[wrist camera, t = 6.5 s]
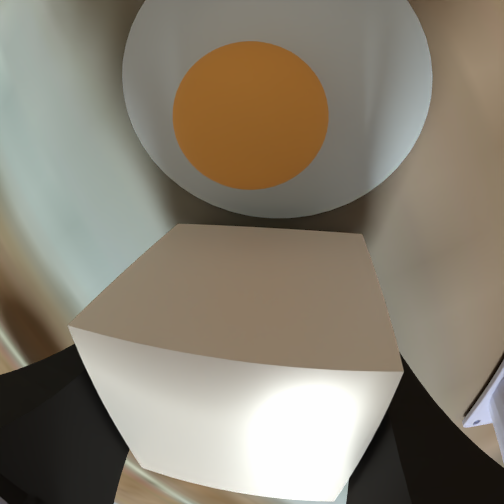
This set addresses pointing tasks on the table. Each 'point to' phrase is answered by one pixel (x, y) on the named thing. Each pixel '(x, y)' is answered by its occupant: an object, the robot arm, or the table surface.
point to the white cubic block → (245, 358)
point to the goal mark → (324, 66)
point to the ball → (250, 115)
